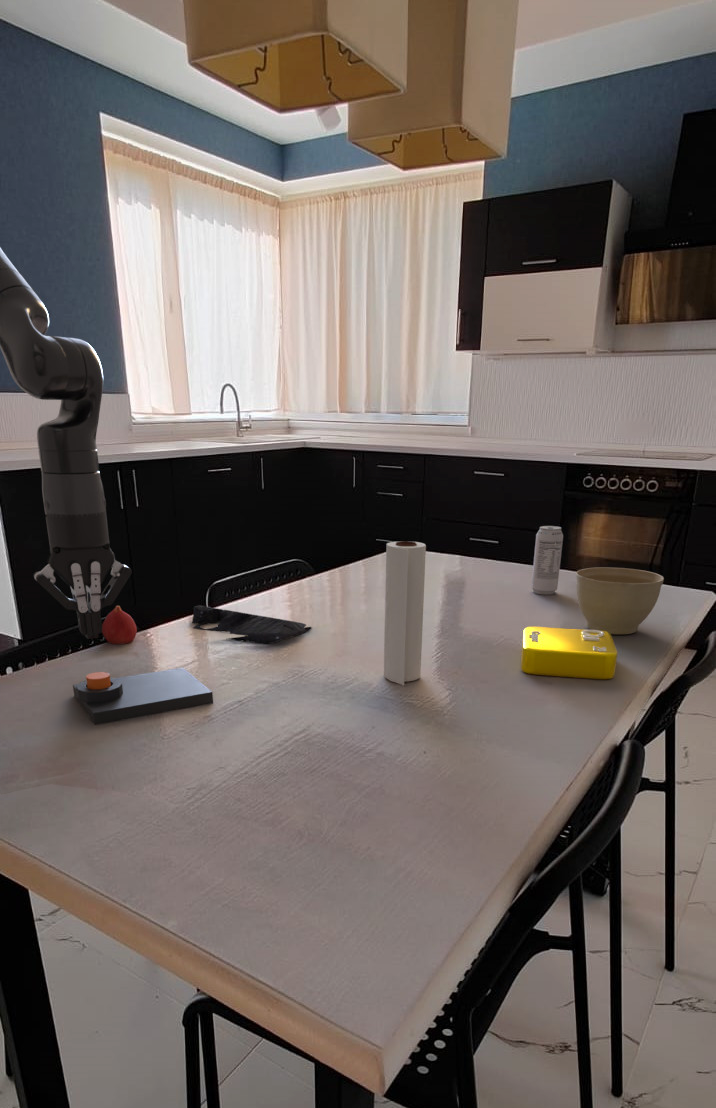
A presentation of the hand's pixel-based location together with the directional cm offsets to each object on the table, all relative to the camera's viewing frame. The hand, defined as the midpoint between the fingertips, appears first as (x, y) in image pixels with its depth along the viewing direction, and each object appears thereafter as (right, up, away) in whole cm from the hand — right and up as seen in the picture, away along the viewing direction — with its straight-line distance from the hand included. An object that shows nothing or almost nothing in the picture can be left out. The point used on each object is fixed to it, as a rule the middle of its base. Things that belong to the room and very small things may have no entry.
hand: (91, 636), depth 107 cm
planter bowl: (+87, +7, +46) cm, 99 cm away
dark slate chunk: (+16, +6, +41) cm, 44 cm away
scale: (+5, -9, +7) cm, 12 cm away
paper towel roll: (+44, -5, +18) cm, 47 cm away
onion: (-5, +1, +30) cm, 31 cm away
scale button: (0, -7, +3) cm, 7 cm away
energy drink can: (+81, +20, +75) cm, 113 cm away
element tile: (+73, -2, +25) cm, 77 cm away
